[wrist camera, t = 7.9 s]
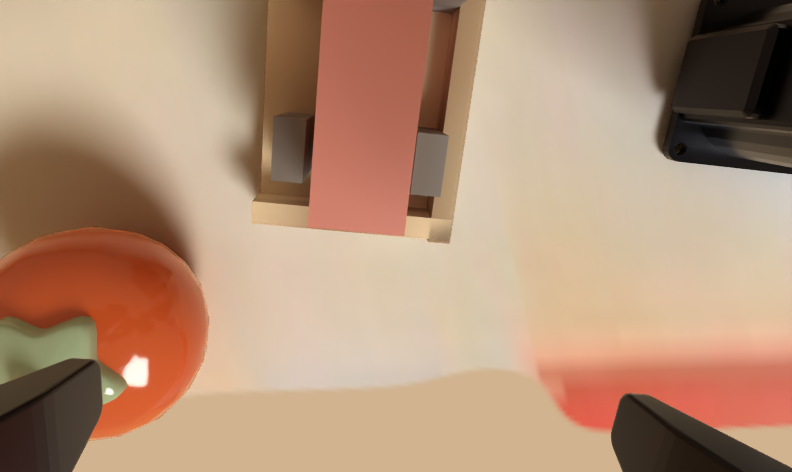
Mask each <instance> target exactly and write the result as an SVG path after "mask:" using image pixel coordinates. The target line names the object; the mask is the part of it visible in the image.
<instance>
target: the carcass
mask: <svg viewBox="0 0 792 472" xmlns="http://www.w3.org/2000/svg"><path fill="white" fill-rule="evenodd" d="M485 3H486V0H433V8H432V16H431V24H430V32H429V40H428V48H427V56H426V64H425V72H424V80H423V88H422V96H421V105H420V113H419V121H418V129H417V137H416V145H415V153H414V161H413V169H412V177H411V185H410V193H409V201H408V209H407V217H406V225H405V233H404V236H399V237H410V238H421V239H427V240H428V242H436V243H447V244H449V243H450V237H451V230H452V223H453V217H454V210H455V203H456V197H457V190H458V183H459V177H460V170H461V163H462V157H463V150H464V143H465V137H466V130H467V123H468V117H469V110H470V103H471V97H472V90H473V83H474V76H475V70H476V63H477V56H478V50H479V43H480V36H481V30H482V23H483V16H484V10H485ZM322 9H323V0H268V14H267V40H266V65H265V91H264V117H263V143H262V169H261V193H260V194H259V195H258V196H257V197H256V198H255V199H254V200H253V201H252V223H256V224H267V225H278V226H289V227H300V228H309V227H308V215H309V201H310V186H311V171H312V156H313V141H314V127H315V112H316V97H317V82H318V68H319V53H320V38H321V23H322ZM311 229H320V228H311ZM322 230H331V229H322ZM333 231H341V230H333ZM344 232H352V231H344ZM355 233H363V232H355ZM366 234H374V233H366ZM377 235H385V234H377ZM388 236H396V235H388Z"/></svg>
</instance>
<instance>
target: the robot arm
mask: <svg viewBox="0 0 792 472" xmlns="http://www.w3.org/2000/svg"><path fill="white" fill-rule="evenodd" d="M672 108H673V110H672V114H671V118H670V122H669V126H668V130H667V133H666V137H665V141H664V145H663V154H664V156H665V157H666V158H667V159H670V160H673V161H678V162H687V163H696V164H705V165H714V166H723V167H732V168H741V169H750V170H759V171H768V172H777V173H786V174H792V0H720V4H719V5H718V7H716V6H715V4H714V0H701V3H700V6H699V10H698V14H697V18H696V22H695V26H694V29H693V33H692V37H691V40H689V41H688V43H687V47H686V51H685V55H684V59H683V62H682V66H681V70H680V74H679V78H678V82H677V86H676V90H675V93H674V97H673V101H672ZM678 143H680V145H681V149H680V151H679V152H678V153H675V152H674V150H675V146H676V145H677V144H678ZM102 407H103V397H102V379H101V367H100V364H99V363H98V362H97V361H96V360H93V359H79V358H70V359H67V360H64V361H61V362H59V363H56V364H53V365H51V366H48V367H45V368H43V369H40V370H37V371H35V372H32V373H30V374H27V375H24V376H22V377H19V378H16V379H14V380H11V381H8V382H6V383H3V384H0V472H72V471H73V469H74V467H75V465H76V463H77V461H78V460H79V458H80V455H81V454H82V452H83V450H84V448H85V446H86V444H87V442H88V440H89V438H90V436H91V434H92V432H93V430H94V428H95V427H96V425H97V423H98V421H99V418H100V416H101V413H102ZM611 441H612V446H613V449H614V451H615V454H616V456H617V459H618V461H619V463H620V466H621V469H622V471H623V472H792V468H791V467H789V466H787V465H785V464H783V463H781V462H779V461H777V460H775V459H773V458H771V457H769V456H767V455H765V454H763V453H761V452H759V451H758V450H756V449H754V448H752V447H750V446H748V445H746V444H744V443H742V442H740V441H738V440H736V439H734V438H732V437H730V436H728V435H726V434H724V433H722V432H720V431H718V430H716V429H714V428H712V427H710V426H708V425H706V424H705V423H703V422H701V421H699V420H697V419H695V418H693V417H691V416H689V415H687V414H685V413H683V412H681V411H679V410H677V409H675V408H673V407H671V406H669V405H667V404H665V403H663V402H661V401H659V400H657V399H655V398H653V397H652V396H649V395H646V394H633V393H627V394H625V395H623V396H622V398H621V399H620V402H619V405H618V409H617V413H616V416H615V420H614V424H613V427H612V432H611Z"/></svg>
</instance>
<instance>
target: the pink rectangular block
mask: <svg viewBox="0 0 792 472" xmlns="http://www.w3.org/2000/svg"><path fill="white" fill-rule="evenodd" d="M432 8H433V0H323V9H322V23H321V38H320V53H319V68H318V82H317V97H316V112H315V127H314V141H313V156H312V171H311V186H310V201H309V215H308V227H309V228H320V229H331V230H341V231H352V232H363V233H374V234H385V235H396V236H404V233H405V225H406V217H407V209H408V201H409V193H410V185H411V177H412V169H413V161H414V153H415V145H416V137H417V129H418V121H419V113H420V105H421V96H422V88H423V80H424V72H425V64H426V56H427V48H428V40H429V32H430V24H431V16H432Z"/></svg>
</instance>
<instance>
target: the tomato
mask: <svg viewBox="0 0 792 472" xmlns="http://www.w3.org/2000/svg"><path fill="white" fill-rule="evenodd" d="M208 328H209V316H208V309H207V305H206V302H205V298H204V294H203V290H202V286H201V284H200V282H199V281H198V279H197V278H196V276H195V275H194V273H193V272H192V270H191V269H190V267H189V266H188V264H187V263H186V262H185V261H184V260H183V259H181V258H180V257H179V256H178V255H177V254H176V253H174V252H173V251H172V250H171V249H170V248H168V247H167V246H166V245H165V244H163V243H160V242H158V241H156V240H154V239H151V238H149V237H147V236H145V235H142V234H140V233H136V232H130V231H123V230H116V229H110V228H103V227H96V226H93V227H87V228H80V229H73V230H67V231H61V232H56V233H51V234H46V235H42V236H40V237H38V238H36V239H34V240H32V241H30V242H28V243H26V244H24V245H22V246H20V247H18V248H16V249H14V250H12V251H11V252H10V253H8V254H7V255H5V256H4V257H3V258H1V259H0V384H3V383H6V382H8V381H11V380H14V379H16V378H19V377H22V376H24V375H27V374H30V373H32V372H35V371H37V370H40V369H43V368H45V367H48V366H51V365H53V364H56V363H59V362H61V361H64V360H67V359H70V358H79V359H93V360H96V361H97V362H98V363H99V364H100V367H101V379H102V397H103V407H102V413H101V416H100V418H99V421H98V423H97V425H96V427H95V428H94V430H93V432H92V434H91V436H90V438H89V440H88V441H92V440H99V439H105V438H112V437H118V436H121V435H124V434H126V433H129V432H131V431H133V430H136V429H138V428H140V427H142V426H144V425H146V424H148V423H151V422H153V421H155V420H157V419H159V418H160V417H161V416H162V415H163V414H164V413H165V412H166V411H167V410H168V409H170V408H171V407H172V406H173V405H174V404H175V403H176V402H177V401H178V400H179V399H180V398H181V397H182V396H183V395H184V394H185V392H186V391H187V390H188V389H189V388H190V387H191V385H192V383H193V381H194V379H195V377H196V375H197V373H198V371H199V369H200V366H201V364H202V362H203V360H204V356H205V352H206V349H207V341H208Z"/></svg>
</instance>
